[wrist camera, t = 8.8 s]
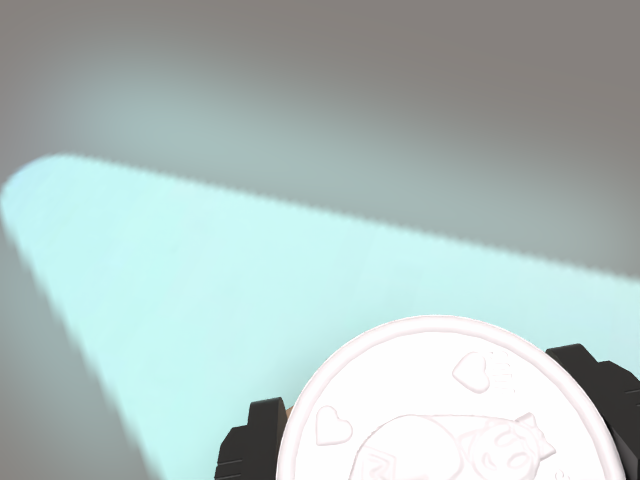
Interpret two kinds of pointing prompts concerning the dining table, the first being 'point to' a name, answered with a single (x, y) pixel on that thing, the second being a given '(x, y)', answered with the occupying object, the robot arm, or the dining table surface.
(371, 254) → the dining table surface
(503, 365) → the smoothie
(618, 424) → the robot arm
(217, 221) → the dining table surface
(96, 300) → the dining table surface
